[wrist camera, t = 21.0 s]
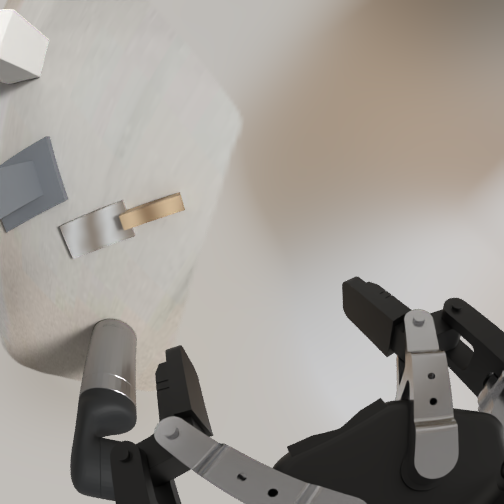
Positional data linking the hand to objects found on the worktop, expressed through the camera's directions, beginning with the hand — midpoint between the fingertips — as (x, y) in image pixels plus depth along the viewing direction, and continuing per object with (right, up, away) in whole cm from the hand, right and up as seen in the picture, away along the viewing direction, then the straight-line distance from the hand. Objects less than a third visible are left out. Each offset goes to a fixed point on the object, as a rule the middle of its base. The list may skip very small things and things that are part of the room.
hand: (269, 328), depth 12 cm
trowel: (-22, +9, +28) cm, 36 cm away
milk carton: (-37, +35, +12) cm, 52 cm away
